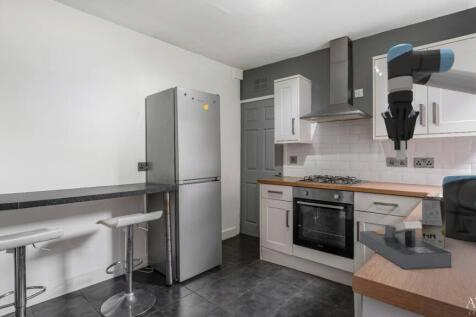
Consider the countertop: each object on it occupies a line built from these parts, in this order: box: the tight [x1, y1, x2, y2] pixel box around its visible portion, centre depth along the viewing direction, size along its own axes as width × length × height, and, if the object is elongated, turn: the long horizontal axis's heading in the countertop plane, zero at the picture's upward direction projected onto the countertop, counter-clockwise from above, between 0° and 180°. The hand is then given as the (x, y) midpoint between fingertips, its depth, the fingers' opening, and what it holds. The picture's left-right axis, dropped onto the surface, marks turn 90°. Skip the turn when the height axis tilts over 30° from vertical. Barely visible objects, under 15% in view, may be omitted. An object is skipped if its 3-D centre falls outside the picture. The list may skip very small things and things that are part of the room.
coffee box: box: [421, 195, 446, 249], centre depth 92 cm, size 9×6×16 cm
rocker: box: [380, 220, 422, 235], centre depth 83 cm, size 5×12×2 cm, turn 5°
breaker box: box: [359, 224, 452, 270], centre depth 83 cm, size 14×22×9 cm, turn 5°
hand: (400, 159), depth 91 cm, fingers closed
